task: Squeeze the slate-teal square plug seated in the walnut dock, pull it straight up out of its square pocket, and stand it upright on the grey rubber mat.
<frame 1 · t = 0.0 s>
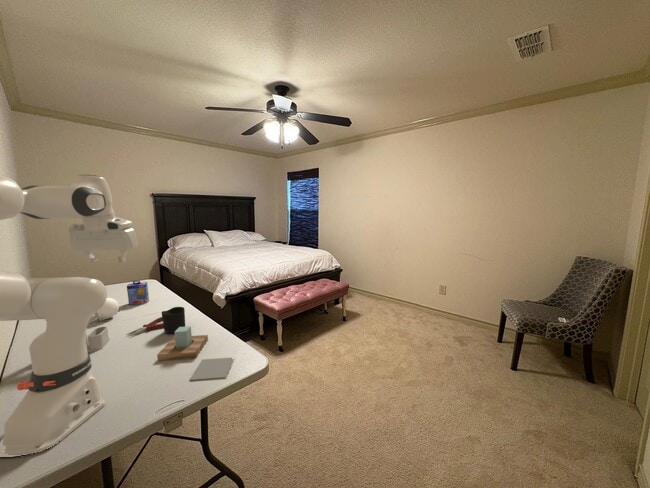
hand: (108, 262, 95), 39 cm above the table, tool pointing down, fingers open, 8 cm apart
phone holder: (82, 348, 111), on the table
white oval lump: (106, 317, 144), on the table
pen holder: (175, 330, 126), on the table
square plug: (183, 339, 108), in the plug dock
pliers: (153, 327, 131), on the table
plug dock: (184, 349, 109), on the table
rubber mat: (213, 368, 95), on the table
ink cartridge box: (139, 303, 165), on the table
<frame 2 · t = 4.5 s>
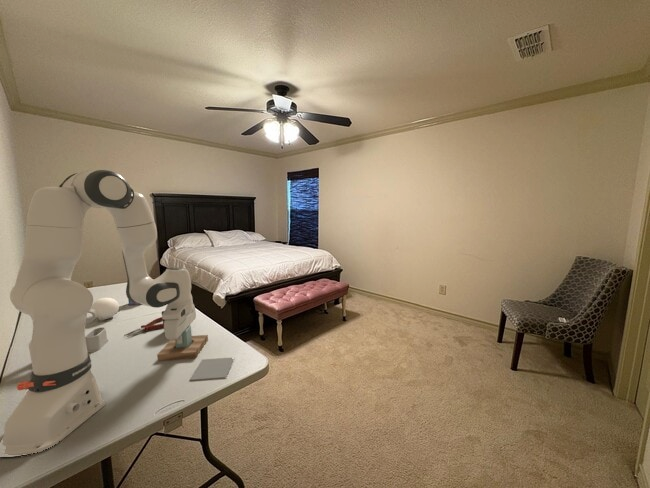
hand: (183, 339, 108), 5 cm above the table, tool pointing down, fingers closed on square plug, 4 cm apart
square plug: (183, 339, 108), in the plug dock, touching gripper
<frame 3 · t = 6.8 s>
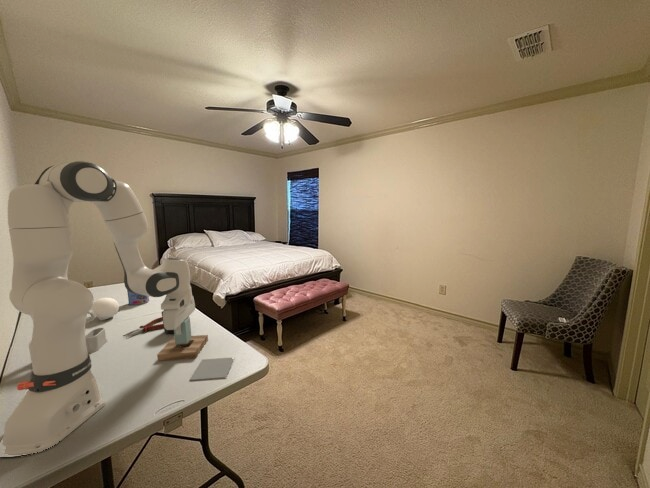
hand: (182, 330, 107), 8 cm above the table, tool pointing down, fingers closed on square plug, 4 cm apart
square plug: (182, 330, 107), point 8 cm above the table, touching gripper
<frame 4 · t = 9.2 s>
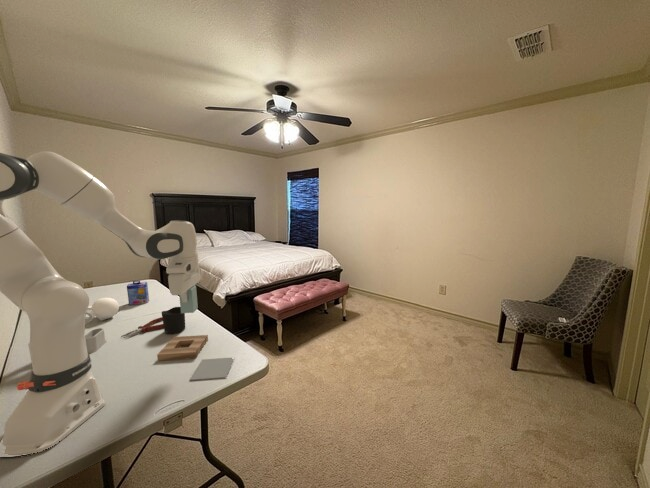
hand: (188, 299, 101), 23 cm above the table, tool pointing down, fingers closed on square plug, 4 cm apart
square plug: (188, 299, 101), point 23 cm above the table, touching gripper
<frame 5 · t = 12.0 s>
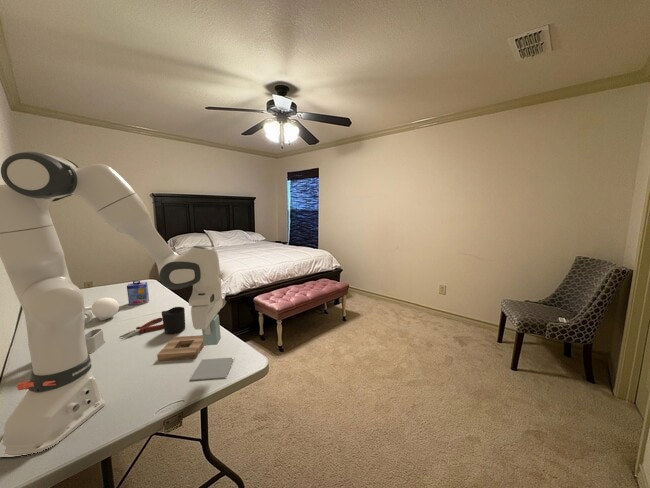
hand: (211, 329, 93), 15 cm above the table, tool pointing down, fingers closed on square plug, 4 cm apart
square plug: (211, 329, 94), point 15 cm above the table, touching gripper
when the fingers open (7 cm above the table, at t = 14.3 s): square plug drops 2 cm, resting on rubber mat.
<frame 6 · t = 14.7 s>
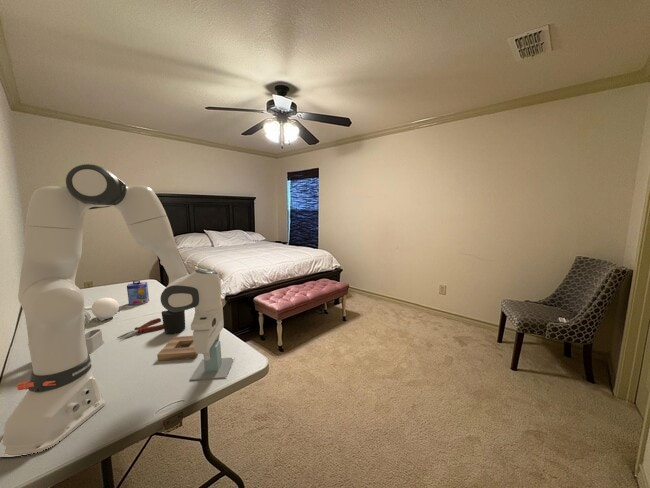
hand: (212, 351, 95), 7 cm above the table, tool pointing down, fingers open, 8 cm apart
square plug: (212, 356, 95), on the rubber mat
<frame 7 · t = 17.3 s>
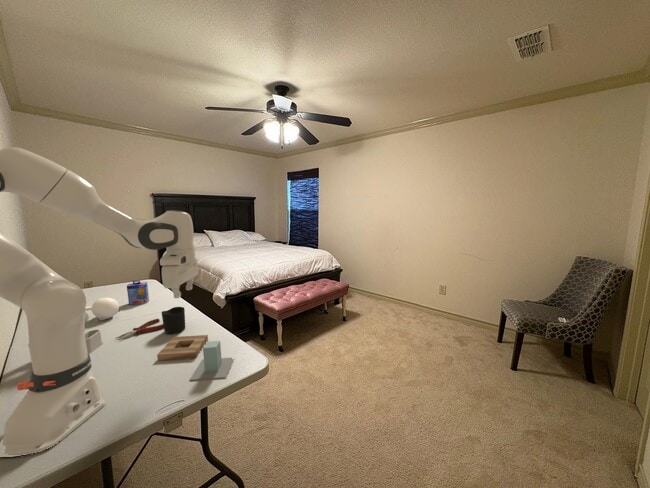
hand: (183, 293, 97), 27 cm above the table, tool pointing down, fingers open, 8 cm apart
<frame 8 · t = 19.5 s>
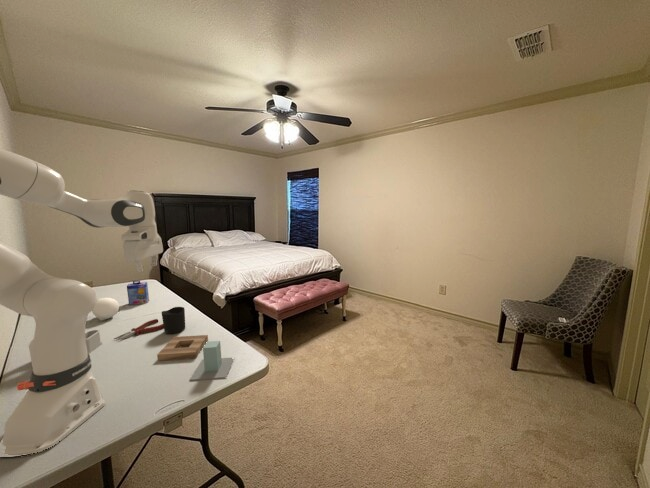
hand: (147, 268, 105), 34 cm above the table, tool pointing down, fingers open, 8 cm apart
at the end: square plug inside the target area on the rubber mat (0.0 cm from its centre), point 4.9 cm above the rubber mat's base; square plug tilted 0°; the gripper is holding nothing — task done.
